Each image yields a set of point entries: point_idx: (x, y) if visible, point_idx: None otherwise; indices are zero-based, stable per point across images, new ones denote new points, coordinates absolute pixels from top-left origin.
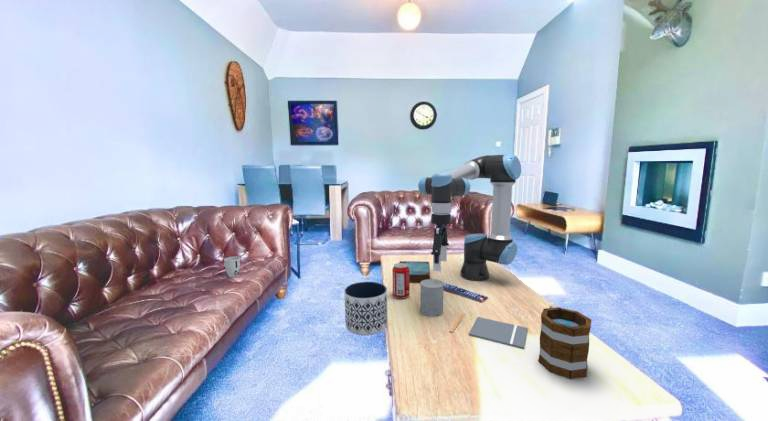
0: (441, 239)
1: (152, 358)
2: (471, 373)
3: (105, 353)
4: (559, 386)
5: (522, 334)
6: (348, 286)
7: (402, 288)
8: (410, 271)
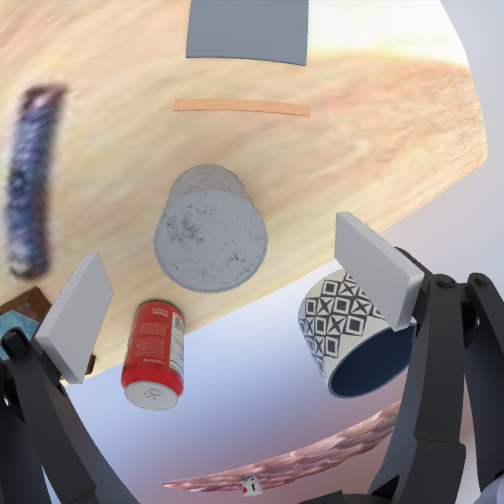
0: (459, 424)
1: None
2: (424, 67)
3: None
4: None
5: None
6: (365, 393)
7: (176, 330)
8: None
